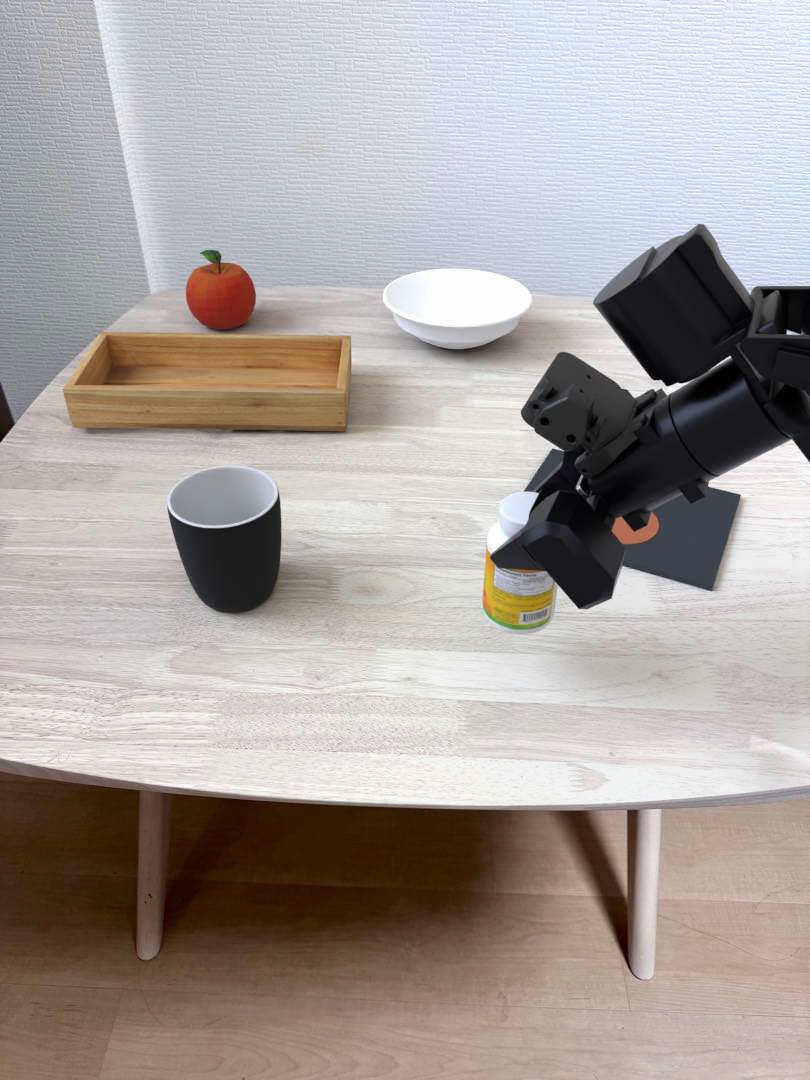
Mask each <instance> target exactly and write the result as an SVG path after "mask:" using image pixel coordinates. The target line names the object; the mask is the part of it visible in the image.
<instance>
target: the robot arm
mask: <svg viewBox="0 0 810 1080" xmlns="http://www.w3.org/2000/svg"><path fill="white" fill-rule="evenodd" d="M592 305H593V306H594V307H595V309H596V310H597V311H598V312H599V314H600V315H601V316H602V318H603V319H604V320H605V322H606V323H607V324H608V325H609V327H610V328H611V329H612V330H613V332H614V333H615V334H616V335H617V337H618V339H620V340H621V342H622V343H623V344H624V346H625V347H626V348H627V350H628V351H629V352H630V353H631V354H632V356H633V357H634V359H635V360H636V361H637V362H638V364H639V365H640V367H642V369H643V370H644V372H645V373H646V374H647V375H648V377H649V378H650V379H651V380H653V381H661V382H662V384H664V385H665V387H671V386H673V385H676V384H684V385H682V386H681V387H679V388H677V389H676V390H674V391H672V392H671V393H669V394H667V393H666V392H665V391H664V389H663V388H662V387H660V388H658V389H657V390H655V389H654V388H650V389H649V390H647V391H645V392H644V393H642V394H640V395H638V396H636V397H634V396H633V395H632V393H631V392H630V391H629V390H628V389H626V388H622V387H621V386H620V385H619V384H618V383H617V382H616V381H614V379H612V378H610V377H609V376H607V375H605V374H604V373H603V372H601V371H600V370H598V369H596V368H595V367H593V366H592V365H590V364H589V363H587V362H586V361H584V360H582V359H580V358H579V357H578V356H576V355H574V354H573V353H571V352H567V351H559V352H558V353H557V354H556V356H555V357H554V358H553V360H552V361H551V363H550V365H549V366H548V368H547V369H546V370H545V372H544V373H543V375H542V377H541V378H540V379H539V381H538V382H537V384H536V385H535V387H534V389H532V392H531V394H530V395H529V397H528V398H527V400H526V402H525V404H524V405H523V407H522V408H521V409H520V416H521V417H522V420H523V421H524V422H525V423H526V424H527V425H528V426H530V427H532V429H533V430H534V432H535V433H536V434H537V435H538V436H539V437H541V438H543V439H544V440H546V441H548V442H549V443H551V444H552V445H554V446H555V447H557V448H559V450H561V451H564V455H563V461H562V462H561V463H560V464H559V465H558V466H557V467H556V468H555V469H554V470H553V471H552V472H551V473H550V474H549V475H548V476H547V477H546V479H544V480H543V481H542V482H541V483H540V485H539V486H538V487H537V488H536V489H535V490H534V491H533V492H536V493H539V494H538V496H537V498H536V500H535V502H534V504H533V506H532V508H531V510H530V512H529V517H528V521H527V523H526V525H525V527H523V528H522V529H521V530H520V531H518V532H517V533H516V534H515V535H513V536H512V537H511V538H509V539H508V540H507V541H506V542H504V543H503V544H502V545H501V546H500V547H499V548H498V549H496V550H495V551H494V552H493V553H492V554H491V556H490V559H491V561H492V562H493V563H494V564H495V565H496V566H497V567H498V568H502V569H518V570H534V571H546V572H547V573H548V574H549V575H550V576H551V578H552V579H553V580H554V581H555V582H556V583H557V584H558V588H560V589H561V590H562V592H563V593H564V594H565V596H566V597H568V598H569V600H570V601H571V602H572V603H573V604H574V605H575V606H576V608H577V609H578V610H585V611H586V610H589V609H591V608H594V607H597V606H598V605H600V604H603V603H605V602H608V601H610V600H612V598H613V596H614V593H615V589H616V587H617V584H618V581H619V577H620V574H621V572H622V569H623V567H624V566H623V561H624V556H625V551H626V548H625V546H624V545H623V544H622V543H621V542H620V540H619V539H618V538H617V537H616V536H615V534H614V533H613V532H612V529H613V527H614V524H615V521H616V518H620V517H622V518H623V519H624V520H625V522H626V523H627V524H628V525H629V526H630V528H631V529H632V530H633V531H634V532H635V531H637V530H639V529H641V528H643V527H645V526H647V525H648V522H649V519H650V516H651V512H652V510H653V509H655V508H657V507H659V506H661V505H663V504H665V503H667V502H669V501H671V500H673V499H675V498H677V497H679V496H681V495H684V496H685V497H686V499H687V500H688V501H689V502H690V504H692V503H694V502H696V501H698V500H700V499H702V498H704V497H706V493H707V489H708V487H709V485H710V481H713V480H715V479H716V478H718V477H720V476H722V475H725V474H727V473H728V472H730V471H732V470H734V469H737V468H738V467H740V466H742V465H745V464H746V463H748V462H750V461H752V460H754V459H756V458H758V457H760V456H762V455H764V454H766V453H768V452H770V451H772V450H774V449H776V448H778V447H780V446H782V445H784V444H786V443H789V442H790V441H793V442H794V444H795V445H796V447H797V448H798V450H799V451H800V452H801V454H802V455H803V456H804V457H805V459H806V460H807V462H809V464H810V285H756V286H754V287H753V288H752V289H751V290H750V292H749V291H748V290H747V288H746V287H745V285H744V283H742V281H741V280H740V279H739V277H738V276H737V274H736V273H735V271H734V270H733V269H732V268H731V265H729V263H728V262H727V261H726V259H725V258H724V256H723V255H722V253H721V250H720V247H719V244H718V242H717V240H716V239H715V237H714V236H713V235H712V233H711V232H710V230H709V228H708V227H707V226H706V225H705V224H704V223H698V224H696V225H695V226H693V227H692V228H691V229H689V230H688V231H686V232H685V233H683V235H677V236H675V237H671V238H670V239H669V240H667V241H665V242H663V243H662V244H661V245H659V246H657V247H655V246H651V247H650V248H648V249H647V250H646V251H644V252H643V253H641V254H640V255H639V256H638V257H637V258H635V259H634V260H633V261H632V262H630V263H629V264H628V265H626V266H625V267H624V268H623V269H621V271H619V273H617V274H616V275H615V276H614V277H613V278H612V279H610V281H608V283H607V284H606V285H605V286H604V287H602V289H601V290H600V291H599V292H598V293H597V294H596V296H595V297H594V299H593V301H592ZM788 331H789V332H792V333H794V334H788Z"/></svg>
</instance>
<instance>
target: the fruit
mask: <svg viewBox="0 0 810 1080" xmlns="http://www.w3.org/2000/svg"><path fill="white" fill-rule="evenodd" d="M199 254H200V255H202V256H203V257H204V258H205V259H206V260H207V261H208V262H210V263H209V264H206V265H201V266H198V267H196V268H194V269H193V271H192V272H191V274H190V275H189V276H188V278H187V280H186V281H187V282H186V286H185V301H186V303H187V307H188V309H189V310H188V311H190V313H191V315H192V316H193V318H195V319H196V320H197V321H198V322H199V323H200V324H201V325H203V326H205V327H207V328H210V329H212V330H217V331H218V330H219V331H226V330H232V329H236V328H237V327H240V326H242V325H243V324H244V323H246V322H247V321H248V320H249V318H250V317H251V316H252V314H253V312H254V309H255V306H256V303H257V293H256V288H255V286H254V285H255V284H254V282H253V280H252V278H251V276H250V274H249V273H248V272H247V270H245V268H243V267H242V266H240V265H239V264H236V263H233V262H222V254H221V253H220V251H219V250H217V249H216V250H215V249H205V250H203V251H200V252H199Z"/></svg>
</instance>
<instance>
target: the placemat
mask: <svg viewBox="0 0 810 1080" xmlns="http://www.w3.org/2000/svg"><path fill="white" fill-rule="evenodd" d="M563 455H564V450H562V449H557V448H551V450H550V451H549V453H548V454H547V456H546V457H545V458H544V460H543V461H542V463H541V465H540V466H539V468H538V469H537V470H536V472H535V474H533V477H531V479H530V480H529V482H528V484H527V485H526V487H525V488H524V490H523V491H522V492H533V491H534V490H535V489H536V488H537V487H538V486H539V485H540V483H541V482H542V481H543V480H544V479H546V477H547V476H548V475H549V474H550V473H551V472H552V471H553V470H554V469H555V468H556V467H557V466H558V465H559V464H560V463H561V462H562V461H563ZM741 497H742V495H741V494H740V493H736V492H732V491H728V490H724V489H720V488H715V487H713V486H712V487H711V486H708V489H707V493H706V497H704V498H702V499H700V500H698V501H696V502H694V503H692V504H690V502H689V501H688V500H687V499H686V497H685V496H684V495H681V496H679V497H677V498H675V499H673V500H671V501H669V502H667V503H665V504H663V505H661V506H659V507H657V508H655V509H653V510H652V512H651V516H650V519H649V522H648V525H647V526H645V527H643V528H641V529H639V530H637V531H635V532H634V531H633V530H632V529H631V528H630V526H629V525H628V524H627V523H626V522H625V520H624V519H623V518H622V517H620V518H616V521H615V524H614V527H613V529H612V532H613V533H614V534H615V536H616V537H617V538H618V539H619V540H620V542H621V543H622V544H623V545H624V546H625V548H626V551H625V556H624V561H623V566H622V567H626V568H631V569H634V570H637V571H641V572H644V573H648V574H651V575H655V576H659V577H662V578H665V579H668V580H672V581H675V582H679V583H682V584H685V585H689V586H693V587H696V588H700V589H704V590H707V591H710V592H712V591H713V588H714V585H715V582H716V579H717V576H718V572H719V569H720V566H721V562H722V560H723V556H724V553H725V550H726V546H727V542H728V539H729V535H730V533H731V530H732V526H733V523H734V520H735V516H736V513H737V510H738V506H739V504H740V501H741V500H740V499H741Z"/></svg>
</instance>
